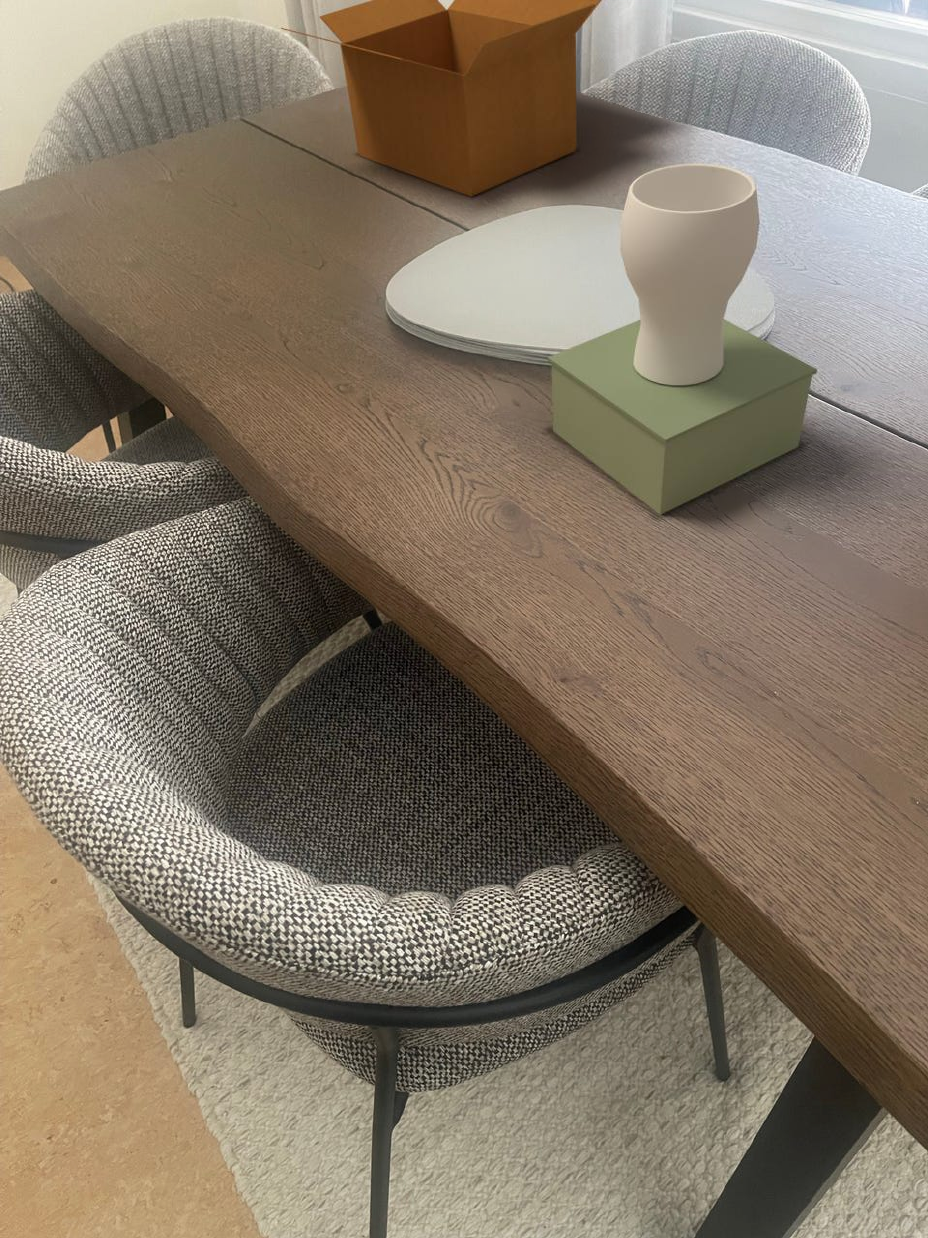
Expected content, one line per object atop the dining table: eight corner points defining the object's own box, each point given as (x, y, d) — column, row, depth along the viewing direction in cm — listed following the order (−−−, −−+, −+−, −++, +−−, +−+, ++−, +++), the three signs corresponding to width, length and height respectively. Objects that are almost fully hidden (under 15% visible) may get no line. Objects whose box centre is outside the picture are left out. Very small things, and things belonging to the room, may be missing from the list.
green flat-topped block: (801, 447, 85) (817, 369, 79) (659, 517, 80) (665, 439, 74) (682, 373, 95) (688, 299, 90) (550, 431, 90) (547, 357, 85)
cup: (713, 407, 77) (733, 224, 66) (596, 379, 81) (597, 204, 71) (758, 345, 83) (784, 169, 72) (647, 323, 87) (655, 154, 77)
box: (440, 227, 126) (422, 54, 111) (291, 166, 147) (259, 14, 132) (637, 139, 142) (643, -23, 127) (477, 95, 163) (466, -47, 148)
